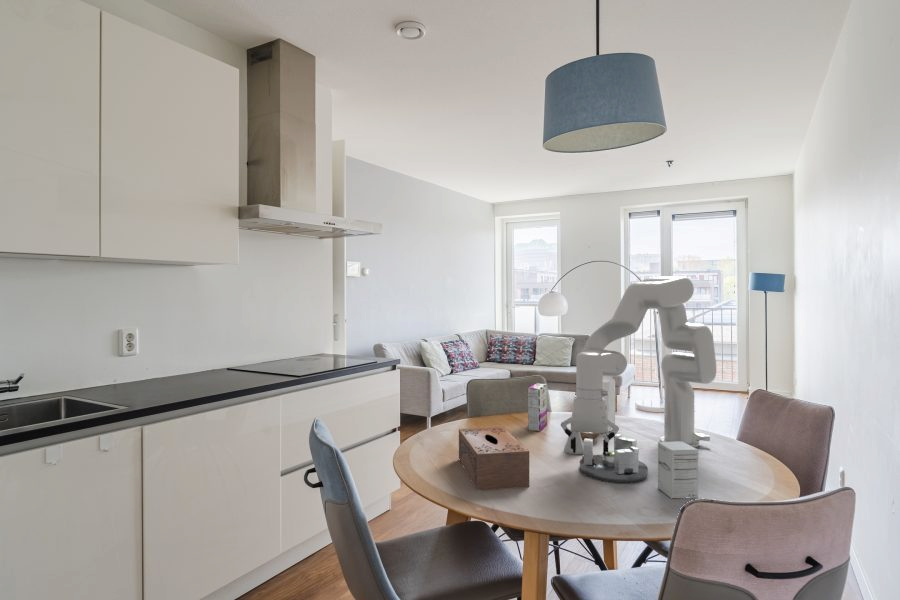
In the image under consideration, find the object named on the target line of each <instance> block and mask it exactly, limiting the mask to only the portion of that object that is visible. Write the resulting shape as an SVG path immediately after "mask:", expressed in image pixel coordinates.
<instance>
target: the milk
mask: <svg viewBox="0 0 900 600" xmlns="http://www.w3.org/2000/svg"><path fill="white" fill-rule="evenodd" d="M603 390H605V391H608V396H604V397H603V398H604V399H605V401H606V407H607V419H608V420H610V421H611V422H612V423H614V424H615V425H616V379H614V378H613V376H603ZM611 430H613V428H611V427H610V426H608V425H607V432H606V433H610V432H611ZM609 431H610V432H609Z"/></svg>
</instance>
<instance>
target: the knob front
mask: <svg viewBox="0 0 900 600" xmlns="http://www.w3.org/2000/svg"><path fill="white" fill-rule="evenodd" d="M583 445H584V454H583V455H582V456H581V459H582V462H584V464H586V465H592V463H594V462H595V458H594V457H593V455H594V440H593V439H587V438H585V439H584V441H583Z"/></svg>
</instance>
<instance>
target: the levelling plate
mask: <svg viewBox="0 0 900 600" xmlns="http://www.w3.org/2000/svg"><path fill="white" fill-rule="evenodd" d="M593 457H594V458H595V462H594V463H592V465H586V464H584V462H582V458H581V459H580V460H579V472H580V473H581V474H582V475H584V476H586V477H588V478H590V479H593V480H596V481H600V482H605V483H611V484H620V485H621V484H635V483H636V484H637V483H640V482H643V481H645V480H646V479H648V476H649V473H648V472H649V468H648V466H647V465H646V463H644V462H642V461H640V460H638V473H632V474H618V473H616V472H615V471H614V450H613V451H612V450H610V451H609V450H608V452H606V456H605V455H603V452H602V454H593Z"/></svg>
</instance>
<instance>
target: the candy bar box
mask: <svg viewBox="0 0 900 600" xmlns="http://www.w3.org/2000/svg"><path fill="white" fill-rule="evenodd" d="M547 387H548V386H547V383H535V384H533V385H531V386H529V387H527V408H528V409H527V416H528V421H527V423H528V425H527V427H528V431H530V432H533V431H534V432H541V431H542V430H543V429H544V428H545V427H546V426H547V425H548V394H547V393H548V392H547V391H548V389H547Z"/></svg>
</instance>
